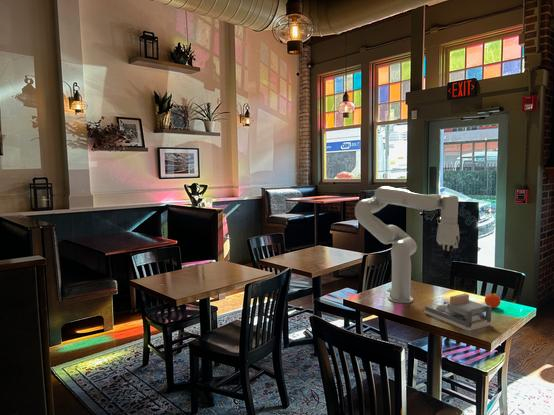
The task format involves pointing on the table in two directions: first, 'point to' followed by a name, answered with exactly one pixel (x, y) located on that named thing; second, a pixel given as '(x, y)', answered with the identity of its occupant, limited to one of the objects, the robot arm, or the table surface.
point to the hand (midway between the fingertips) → (447, 258)
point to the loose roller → (476, 317)
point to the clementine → (492, 300)
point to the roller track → (458, 317)
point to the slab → (465, 305)
